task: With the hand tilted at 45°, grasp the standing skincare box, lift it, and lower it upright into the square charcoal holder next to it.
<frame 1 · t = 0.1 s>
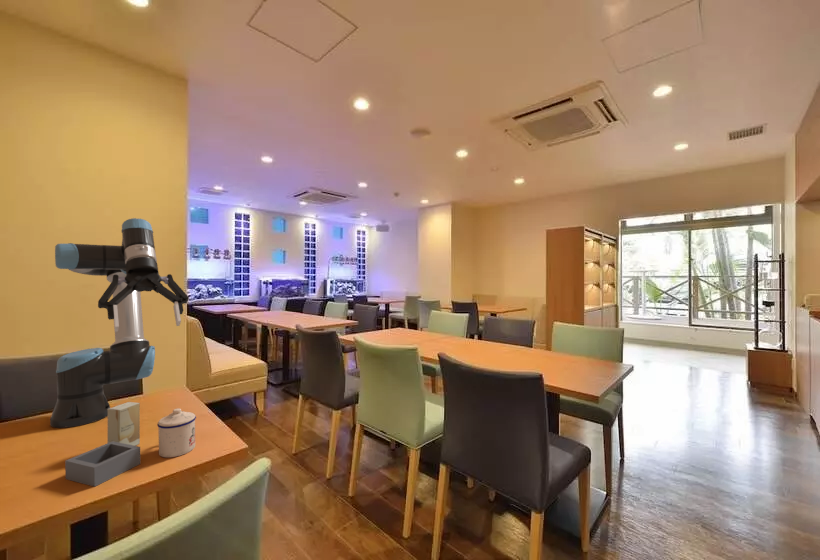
hand: (149, 326, 96), 36 cm above the table, tool tilted 35°, fingers open, 13 cm apart
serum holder: (104, 471, 89), on the table
teacup with lid: (177, 448, 101), on the table
skincare box: (124, 448, 101), on the table
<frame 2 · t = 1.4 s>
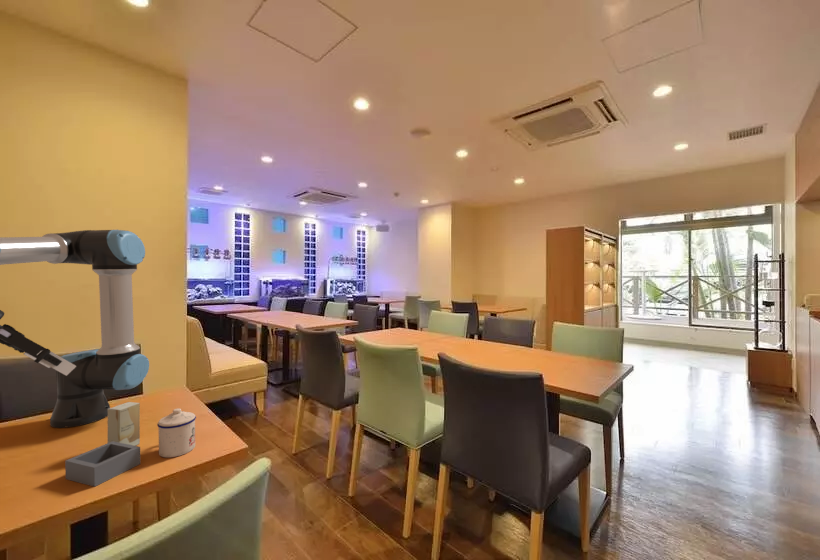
hand: (62, 367, 91), 26 cm above the table, tool tilted 45°, fingers open, 13 cm apart
nothing on the table moved.
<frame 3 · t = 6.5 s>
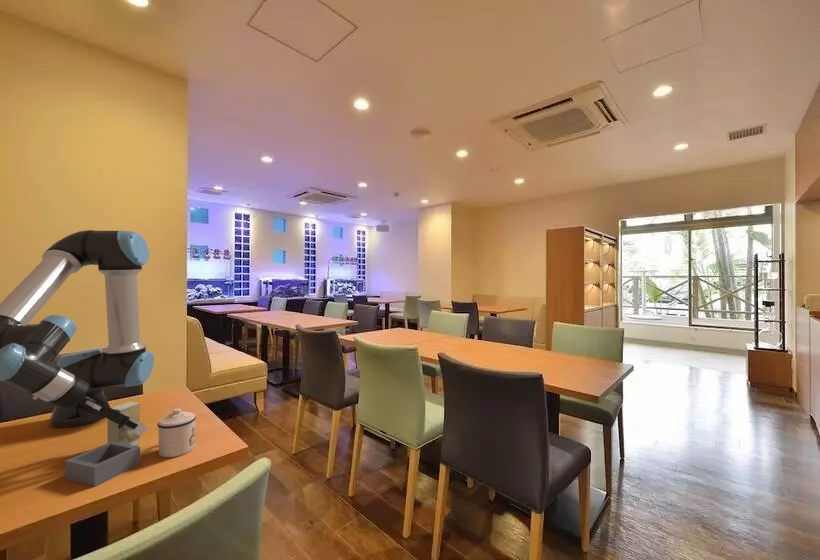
hand: (139, 428, 104), 4 cm above the table, tool tilted 45°, fingers closed on skincare box, 6 cm apart
skincare box: (124, 448, 101), on the table, touching gripper
everything else where it was.
when the fingers open (7 cm above the table, at t = 12.4 s): skincare box drops 2 cm, resting on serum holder.
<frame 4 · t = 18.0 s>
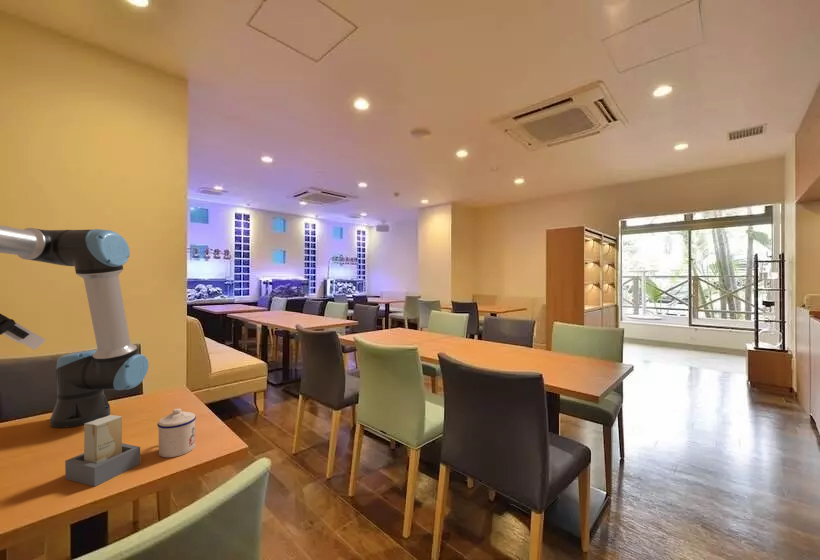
hand: (32, 341, 85), 34 cm above the table, tool tilted 45°, fingers open, 13 cm apart
skincare box: (104, 468, 89), point 1 cm above the table, touching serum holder
everything else where it was.
at the end: skincare box 0.3 cm off-centre on the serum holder, point 0.8 cm above the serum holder's base; skincare box tilted 0°; the gripper is holding nothing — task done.
